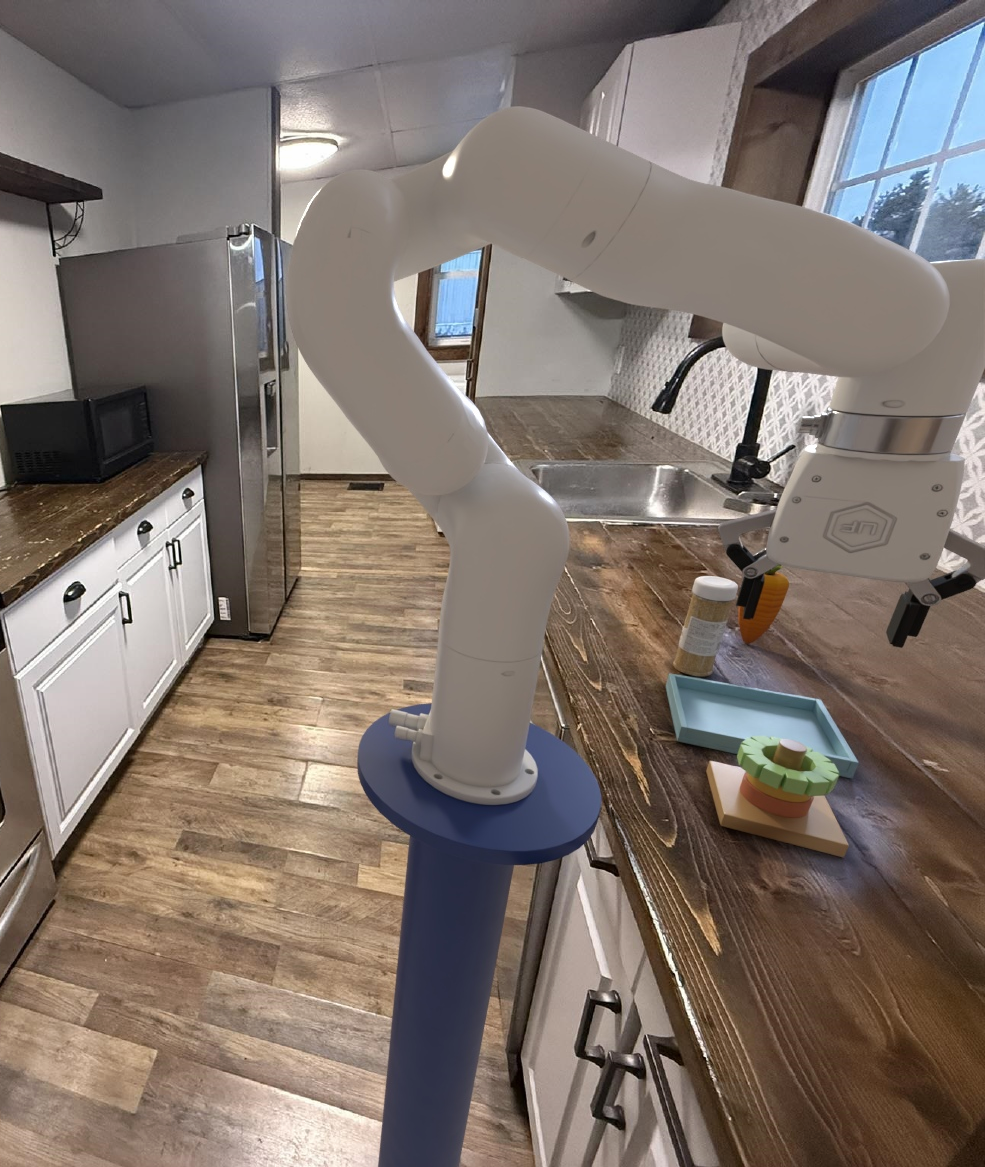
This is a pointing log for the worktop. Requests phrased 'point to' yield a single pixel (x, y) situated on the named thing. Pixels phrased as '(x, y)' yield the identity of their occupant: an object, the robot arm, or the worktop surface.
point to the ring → (811, 781)
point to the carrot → (765, 606)
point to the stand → (775, 805)
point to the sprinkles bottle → (704, 625)
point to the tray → (753, 718)
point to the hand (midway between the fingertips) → (816, 626)
